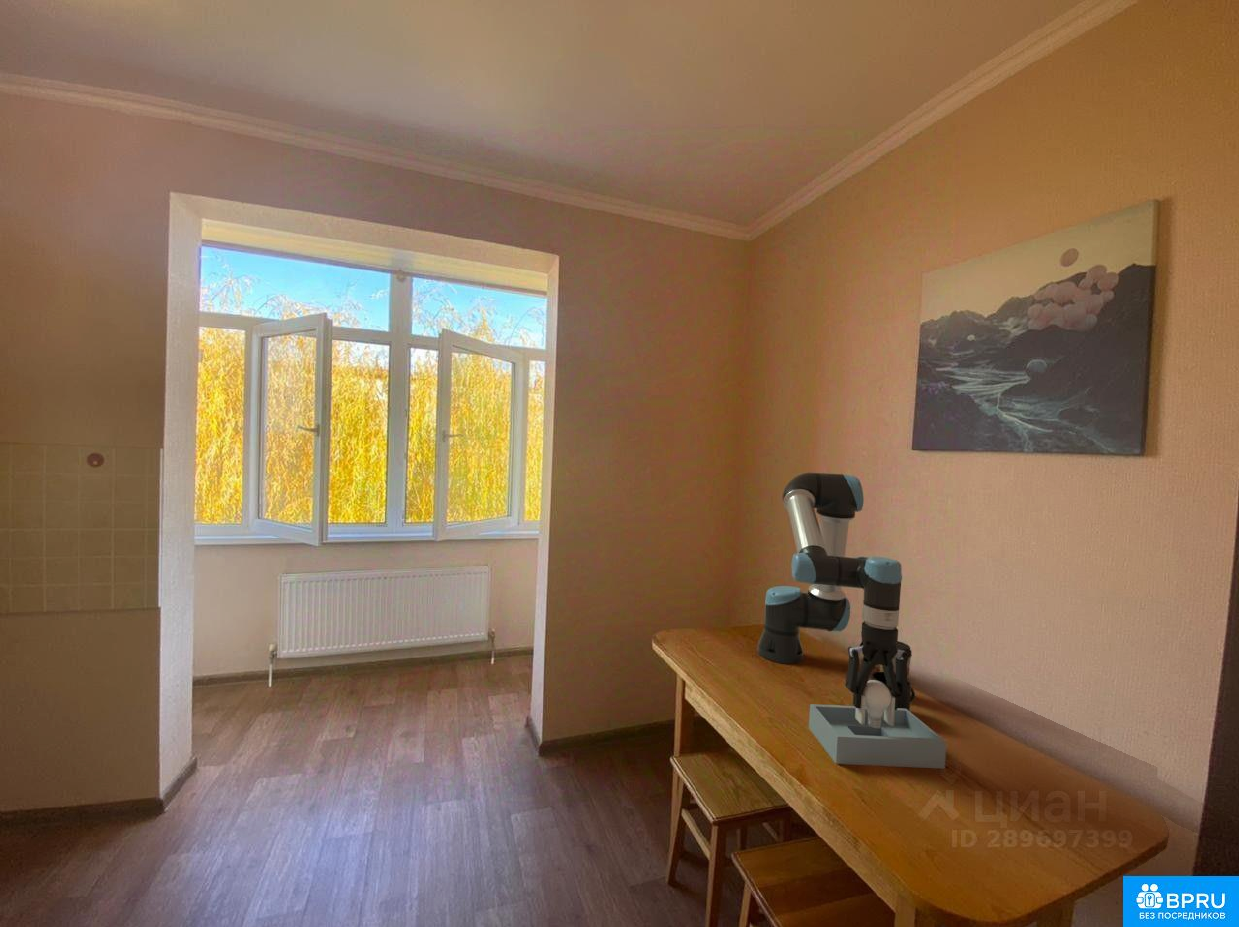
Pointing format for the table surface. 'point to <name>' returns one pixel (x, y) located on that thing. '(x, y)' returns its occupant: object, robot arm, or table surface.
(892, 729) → the socket box
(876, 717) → the lightbulb
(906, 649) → the coffee cup
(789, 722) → the table surface
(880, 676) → the mug
